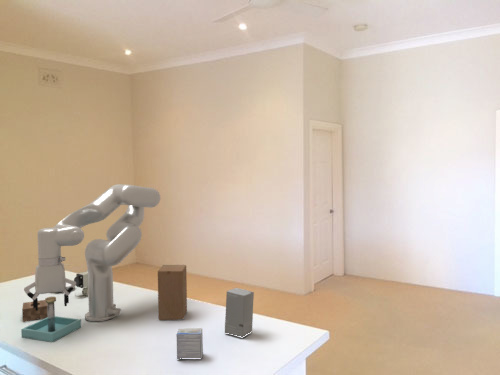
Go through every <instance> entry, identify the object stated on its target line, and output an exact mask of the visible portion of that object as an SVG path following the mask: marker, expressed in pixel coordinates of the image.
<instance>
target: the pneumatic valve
mask: <svg viewBox="0 0 500 375" xmlns="http://www.w3.org/2000/svg"><path fill="white" fill-rule="evenodd" d="M73 281H75V282H76V285H75V287H77V288H81V289H82V291H81V295H82V296H86V297H88V269H86V271H83V272H78V273H76V276H75V277H74V279H73Z"/></svg>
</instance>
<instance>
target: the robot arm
mask: <svg viewBox="0 0 500 375" xmlns="http://www.w3.org/2000/svg"><path fill="white" fill-rule="evenodd" d="M160 201H161V194H160V192H159V191H158V190H157V189H156V188H154V187H147V186H139V185H135V184H134V185H133V184H121V183H120V184H119V183H117V184H114V185H111V186H110V187H109V188H107V189H106V190H105V191H104V192H102V193H101V194H100V195H99V196H98V197H96V198H95V199H94V200H92V201H91V202H90V203H88V204H87V205H85V206H82V207H80V208H79V209H77V210H75V211H72V212H71V213H70V214H68V215H66V216H65V217H64V218H62V219H61V220H60V221H59V222H57V223H56V225H54V226H53V227H44V228H40V229H38V230H37V253H38V254H37V256H38V257H37V261H38V265H36V266H35V274H34V282H32V283H31V284H29V285H27V286H25V287H24V288H23V291H24V292H25V294H26V295H27V297H28V298H30V299H31V300H32V302H33V308H36V311H37V310H38V301H39V300H38V298H39V296H40V295H45V294H53V293H63V298H64V299H63V302H64V305H63V306H64V307H67V305H68V304H69V302H70V299H69V295H70V294H71V293H72V292H73V291H74V289H75V287H76V282H75V281H74V280H72V279H69V278H67V277H66V270H65V269H66V268H65V265H64V263H63V262H64V261H66V256H62V249H61V248H62V247H73V246H77V245H79V244H81V243H82V242H83V240H84V238H85V232H84V231H83V229H82V228H84V227H85V226H88V225H92V224H95V223H99V222H102V221H104V220H106V219H107V218H108V217H109V216H110V215H111V214H112V213H113V212H114V211H116V210H117V209H119V207H121V206H122V205H123V206H127V208H126V210H125V212H124V213H123V214H122V215H121V216H120V217H119V218H118V219H117V220H116V221H115V222H114V223H112V225H111V226H109V227H108V229H107V230H106V234H105V235H106V238H107V239H101V238H96V239H93V240H90V241H89V242H88V243H87V244H86V246H85V249H84V257H85V262H86V266H87V269H86V270H88V296H87V297H88V298H87V299H88V312H86V313H85V314H84V319H85V320H87V321H89V322H103V321H109V320H111V319H113V318H116V317H117V316H119V315H120V314H121V312H122V308H118V307H117V306H116V303H114V274H113V273H114V272H113V266H117V265H119V264H120V263H122V261H124V260H125V259H126V257H128V255H130V253H131V252H132V251H133V250H134V249H135V248H136V247H137V246H138V245H139V243H140V242H141V240H142V230H141V228H140V226H141V225H142V223H143V222H144V218H145V208H150V209H151V208H155V207H157V206H158V205H159V203H160ZM66 283H69V284H71V287H70V288H69V289H68V290H67V289H66ZM33 288H34V290H35V292H34V293H33V292H31V289H33ZM60 291H62V292H60Z"/></svg>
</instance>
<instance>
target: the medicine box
mask: <svg viewBox="0 0 500 375" xmlns="http://www.w3.org/2000/svg"><path fill="white" fill-rule="evenodd" d="M175 335H176V360H177V359H180V358H181V359H182V358H202V359H203V355H202V354H204V348H203V346H204V345H203V344H204V343H203V342H204V341H203V328H202V327H199V328H197V327H196V328H195V327H193V328H191V327H190V328H189V327H188V328H178V330H177V333H176V334H175Z"/></svg>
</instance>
